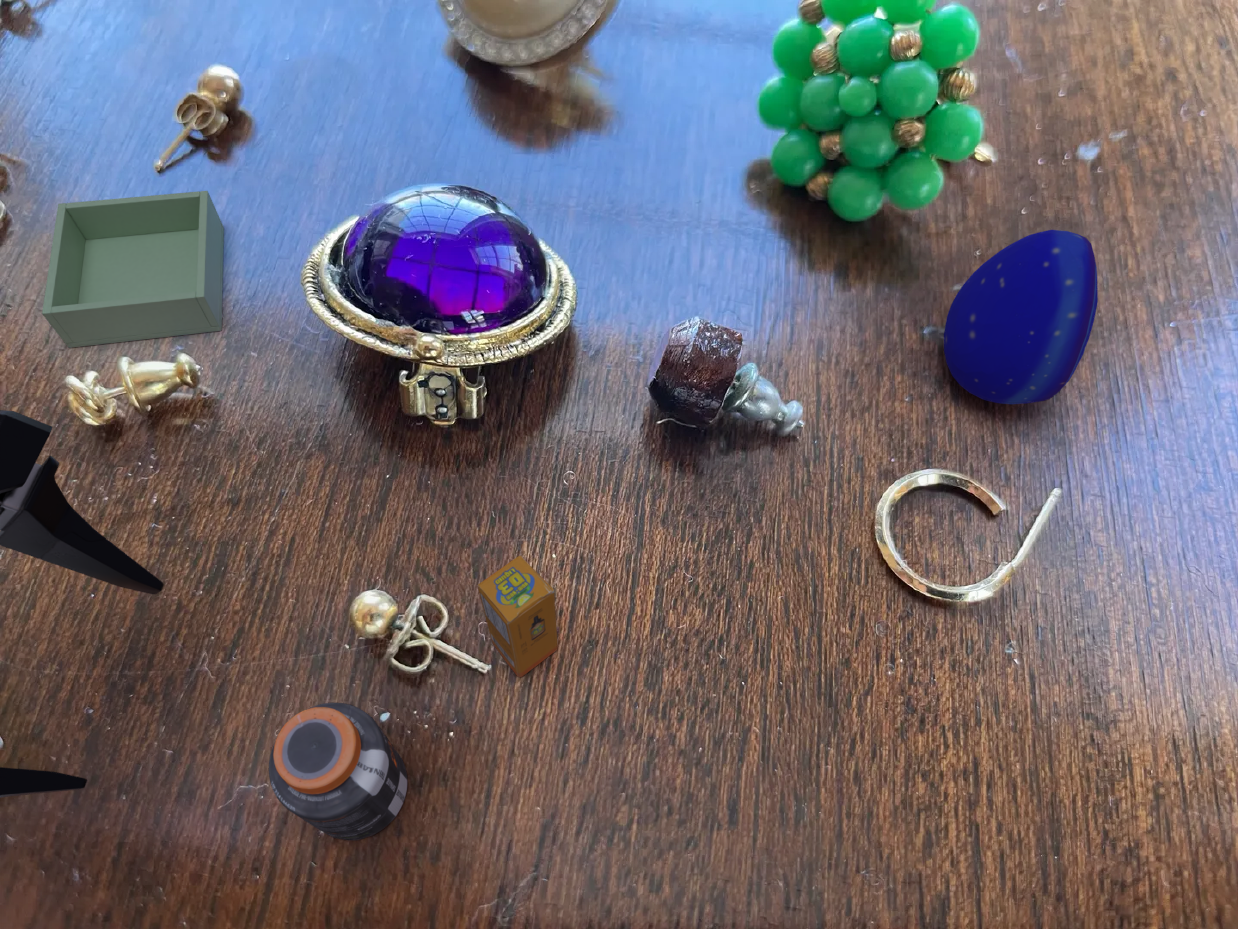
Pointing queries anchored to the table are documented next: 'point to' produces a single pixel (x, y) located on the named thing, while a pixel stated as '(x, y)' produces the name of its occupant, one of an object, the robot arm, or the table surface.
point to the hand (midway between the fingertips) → (124, 681)
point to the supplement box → (520, 615)
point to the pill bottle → (338, 771)
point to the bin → (135, 269)
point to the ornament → (1024, 319)
